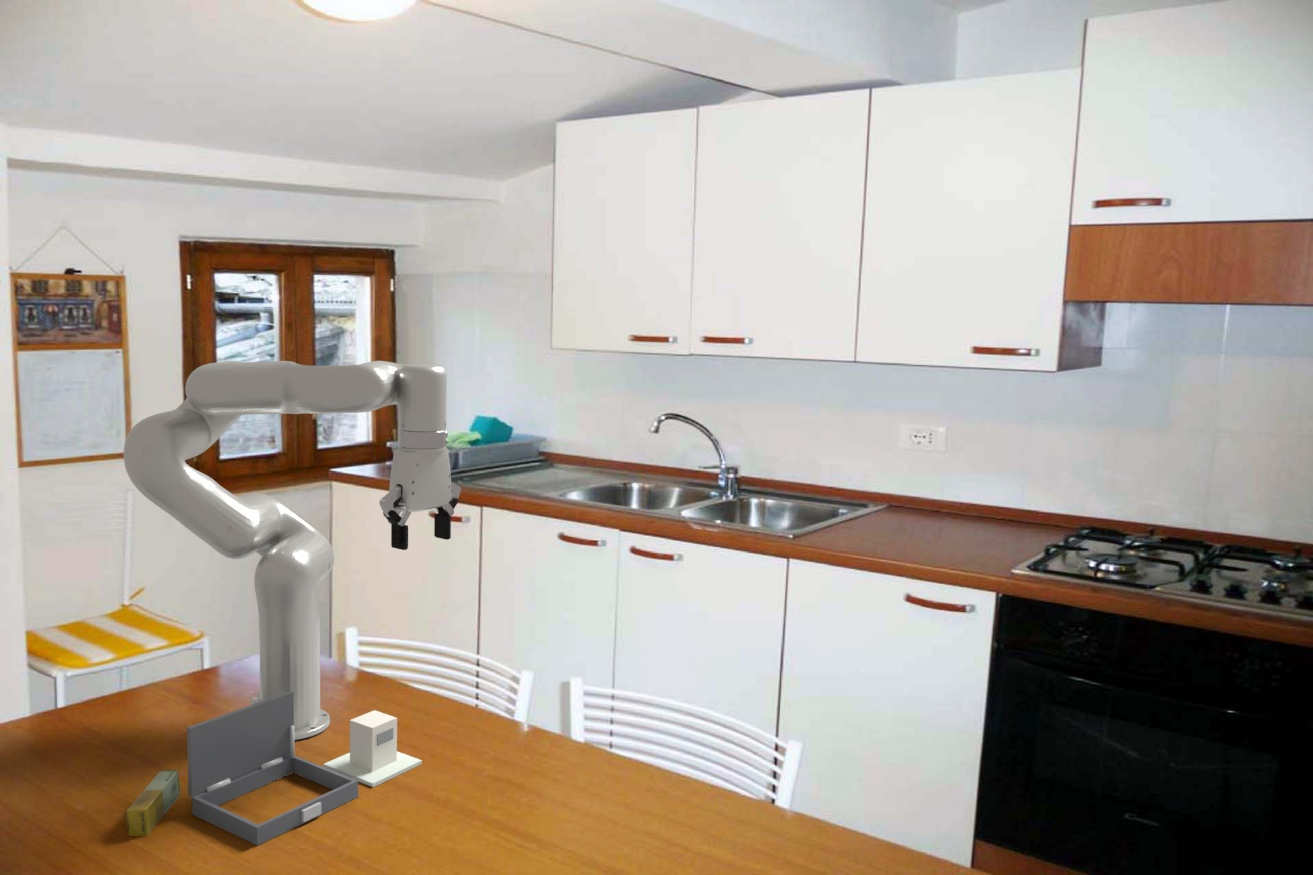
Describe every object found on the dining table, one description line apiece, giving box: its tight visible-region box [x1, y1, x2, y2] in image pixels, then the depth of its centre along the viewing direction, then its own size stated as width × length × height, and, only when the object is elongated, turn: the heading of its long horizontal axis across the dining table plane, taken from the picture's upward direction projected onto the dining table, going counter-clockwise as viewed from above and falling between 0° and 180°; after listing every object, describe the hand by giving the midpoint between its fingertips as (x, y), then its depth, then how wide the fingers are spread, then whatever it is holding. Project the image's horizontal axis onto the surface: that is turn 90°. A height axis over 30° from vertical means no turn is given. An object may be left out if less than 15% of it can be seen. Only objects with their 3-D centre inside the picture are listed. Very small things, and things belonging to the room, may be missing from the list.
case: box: [186, 691, 359, 846], centre depth 150 cm, size 16×17×12 cm
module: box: [349, 709, 398, 772], centre depth 164 cm, size 5×5×7 cm
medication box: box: [126, 769, 181, 837], centre depth 147 cm, size 12×3×4 cm, turn 5°
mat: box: [322, 750, 423, 788], centre depth 165 cm, size 11×10×1 cm
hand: (421, 543), depth 174 cm, fingers open, 9 cm apart
